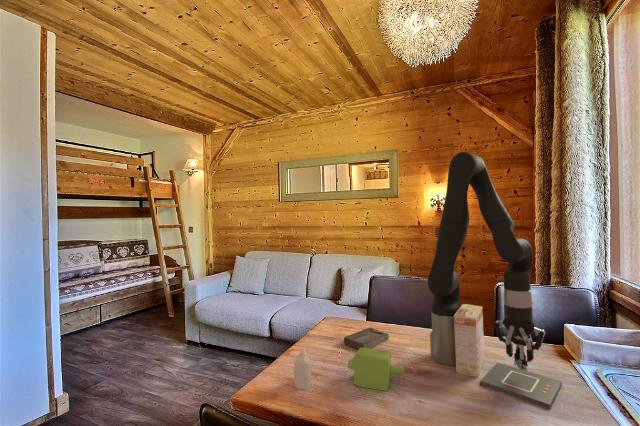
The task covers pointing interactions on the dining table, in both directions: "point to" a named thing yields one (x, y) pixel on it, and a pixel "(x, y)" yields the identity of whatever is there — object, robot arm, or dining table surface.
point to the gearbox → (373, 368)
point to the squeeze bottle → (302, 371)
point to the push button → (519, 353)
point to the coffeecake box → (469, 340)
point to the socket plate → (522, 384)
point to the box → (366, 338)
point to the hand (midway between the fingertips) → (519, 358)
